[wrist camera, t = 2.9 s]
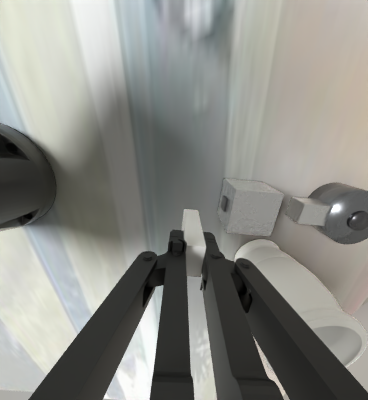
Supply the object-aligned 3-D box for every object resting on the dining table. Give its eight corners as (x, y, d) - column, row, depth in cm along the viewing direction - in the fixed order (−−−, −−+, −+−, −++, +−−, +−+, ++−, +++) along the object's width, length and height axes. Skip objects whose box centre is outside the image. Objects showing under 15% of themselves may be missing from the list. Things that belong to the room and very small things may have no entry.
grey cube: (215, 213, 28) (224, 232, 22) (222, 177, 26) (233, 189, 20) (252, 216, 28) (270, 236, 23) (261, 181, 26) (284, 194, 21)
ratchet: (274, 223, 29) (296, 242, 24) (289, 177, 26) (317, 188, 21) (392, 233, 30) (436, 253, 25) (418, 190, 28) (474, 203, 22)
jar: (246, 287, 34) (293, 392, 20) (217, 254, 31) (248, 352, 17) (294, 259, 32) (384, 355, 18) (267, 222, 29) (350, 302, 15)
